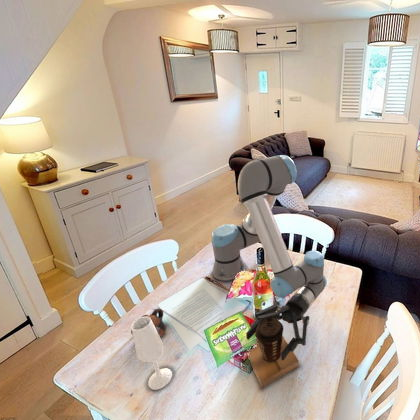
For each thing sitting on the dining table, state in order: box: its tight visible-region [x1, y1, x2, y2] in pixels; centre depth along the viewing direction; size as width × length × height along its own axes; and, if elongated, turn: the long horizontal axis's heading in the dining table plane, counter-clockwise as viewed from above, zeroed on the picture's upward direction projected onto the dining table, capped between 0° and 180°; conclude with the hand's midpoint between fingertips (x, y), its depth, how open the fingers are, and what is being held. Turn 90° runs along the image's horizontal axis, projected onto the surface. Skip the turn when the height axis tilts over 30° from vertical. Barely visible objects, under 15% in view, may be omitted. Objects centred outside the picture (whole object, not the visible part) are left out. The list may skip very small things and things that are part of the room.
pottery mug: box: [130, 308, 167, 338], centre depth 99 cm, size 12×10×8 cm
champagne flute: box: [130, 316, 173, 391], centre depth 78 cm, size 7×7×24 cm
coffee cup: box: [254, 317, 284, 363], centre depth 86 cm, size 9×8×13 cm
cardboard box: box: [248, 336, 300, 389], centre depth 89 cm, size 13×13×3 cm
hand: (264, 346), depth 83 cm, fingers open, 13 cm apart
